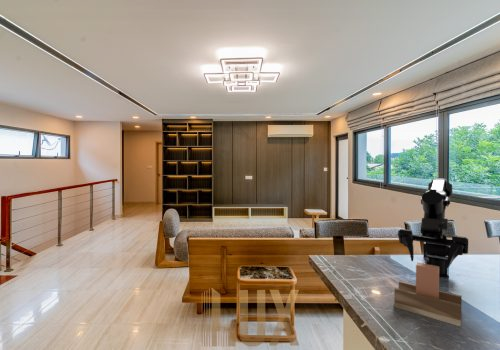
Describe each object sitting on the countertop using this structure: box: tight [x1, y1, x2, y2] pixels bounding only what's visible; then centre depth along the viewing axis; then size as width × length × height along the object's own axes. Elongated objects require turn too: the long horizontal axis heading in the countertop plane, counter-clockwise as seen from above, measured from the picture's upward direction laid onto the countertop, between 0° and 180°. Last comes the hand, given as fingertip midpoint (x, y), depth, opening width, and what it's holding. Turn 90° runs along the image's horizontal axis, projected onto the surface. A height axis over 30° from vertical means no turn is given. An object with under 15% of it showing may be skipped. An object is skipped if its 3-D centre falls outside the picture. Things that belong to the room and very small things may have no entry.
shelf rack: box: [393, 280, 463, 327], centre depth 79 cm, size 10×16×5 cm, turn 51°
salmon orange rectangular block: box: [415, 262, 440, 299], centre depth 79 cm, size 3×6×12 cm, turn 51°
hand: (429, 263), depth 82 cm, fingers open, 9 cm apart
